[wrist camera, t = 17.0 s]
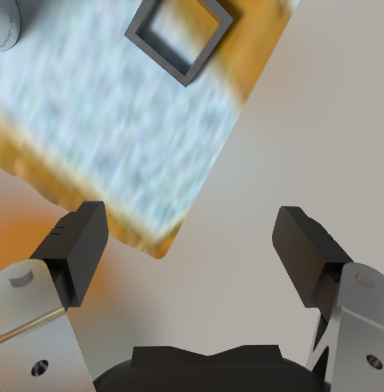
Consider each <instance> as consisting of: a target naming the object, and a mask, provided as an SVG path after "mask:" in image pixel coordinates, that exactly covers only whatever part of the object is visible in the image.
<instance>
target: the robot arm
mask: <svg viewBox="0 0 384 392" xmlns="http://www.w3.org/2000/svg"><path fill="white" fill-rule="evenodd" d="M20 25H21V21H20V15H19V10H18V7H17V5H16V2H15V0H0V52H1V51H5V50H7V49H9V48H11V47H12V46H13V45H14V44H15V43H16V41H17V39H18V37H19V33H20ZM107 240H108V225H107V218H106V211H105V205H104V202H103V201H84V202H83V203H82V204H81V206H80V207H79V208H78V210H77V211H76V212H70V213H68V214H67V215H65V216H64V217H62V218H61V219H60V220H59V221H58V223H57V224H56V225H55V226H54V228H53V229H52V230H51V231H50V233H49V235H47V236H46V238H45V239H44V240H43V242H42V243H41V244H40V245H39V246H38V248H37V249H36V250H35V252H34V253H33V254H32V255H31V257H30V258H29V259H28V260H23V261H20V262H17V263H14V264H12V265H10V266H8V267H7V268H5V269H4V270H3V271H1V272H0V392H384V275H383V274H381V273H380V272H379V271H377V270H375V269H373V268H372V267H369V266H367V265H364V264H361V263H355V262H354V261H353V260H352V259H351V258H350V257H349V256H348V255H347V253H346V252H345V251H344V250H343V249H342V248H341V247H340V246H339V244H338V243H337V242H336V241H335V240H333V238H332V237H331V235H329V234H328V232H327V231H326V230H325V229H324V228H323V227H322V225H321V224H319V223H318V222H316V221H315V220H313V219H312V218H309V217H308V216H307V215H306V214H305V213H304V211H303V210H302V209H301V208H300V207H294V206H282V207H281V208H280V209H279V212H278V216H277V219H276V223H275V226H274V230H273V235H272V241H273V246H274V248H275V250H276V252H277V254H278V255H279V257H280V259H281V261H282V263H283V265H284V267H285V269H286V271H287V273H288V275H289V277H290V279H291V281H292V282H293V284H294V286H295V288H296V290H297V292H298V294H299V296H300V298H301V300H302V302H303V304H304V306H305V308H319V310H320V314H319V316H318V319H317V323H316V327H315V331H314V336H313V340H312V344H311V349H310V353H309V357H308V361H307V363H306V366H305V367H303V366H301V365H299V364H298V363H296V362H293V361H291V360H288V359H286V358H282V355H281V352H280V349H279V346H278V345H243V346H240V347H237V348H233V349H230V350H227V351H224V352H221V353H218V354H215V355H211V356H205V355H201V354H197V353H194V352H190V351H186V350H182V349H179V348H175V347H171V346H153V347H151V346H148V347H147V346H146V347H134V348H133V354H132V359H130V360H127V361H124V362H122V363H120V364H118V365H116V366H114V367H112V368H111V369H109V370H107V371H106V372H104V373H103V374H102V375H100V376H99V377H98V378H96V379H95V380H94V381H93V382H92V379H91V377H90V374H89V372H88V369H87V366H86V364H85V361H84V359H83V356H82V353H81V351H80V348H79V346H78V343H77V341H76V338H75V335H74V333H73V330H72V328H71V325H70V323H69V320H68V317H67V314H66V311H67V309H68V307H80V306H81V303H82V301H83V299H84V296H85V294H86V292H87V289H88V287H89V284H90V282H91V279H92V277H93V275H94V272H95V270H96V268H97V265H98V263H99V261H100V258H101V256H102V253H103V251H104V249H105V246H106V243H107Z"/></svg>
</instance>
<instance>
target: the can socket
mask: <svg viewBox="0 0 384 392" xmlns="http://www.w3.org/2000/svg"><path fill="white" fill-rule="evenodd" d="M157 1H158V0H143V1H142V3H141V5H140V6H139V8H138V10H137V12H136V14H135V16H134V17H133V19H132V21H131V23H130V25H129V27H128V29H127V30H126V32H125V34H124V35H125V36H126V37H127V38H128V39H129V40H130V41H132V42H133V43H134V44H135V45H136V46H137V47H139V48H140V49H141V50H142V51H143V52H145V53H146V54H147V55H148V56H149V57H150V58H152V59H153V60H154V61H155V62H156V63H157V64H159V65H160V66H161V67H162V68H163V69H164V70H166V71H167V72H168V73H169V74H170V75H172V76H173V77H174V78H175V79H176V80H177V81H179V82H180V83H181V84H182V85H183V86H184V87H187V86H188V84H189V83H190V81H191V80H192V78H193V77H194V76H195V74H196V73H197V71H198V70H199V68H200V67H201V66H202V64H203V63H204V61H205V60H206V59H207V57H208V56H209V54H210V53H211V51H212V50H213V49H214V47H215V46H216V44H217V43H218V41H219V40H220V39H221V37H222V36H223V34H224V33H225V31H226V30H227V29H228V27H229V26H230V24H231V23H232V21H233V20H234V19H233V18H232V17H231V16H230V15H229V14H228V13H227V12H226V11H225V10H224V8H223V7H222V6H221V5H220V4H219V3H218V2H217V1H216V0H197V1H198V2H199V3H200V4H201V5H202V6H203V7H204V8H205V9H206V10H207V11H208V13H209V14H210V15H211V16H212V17H213V18H214V19H215V20H216V21H217V22H218V23H219V24H220V25H219V26H218V28H217V29H216V31H215V32H214V34H213V35H212V36H211V38H210V39H209V41H208V42H207V44H206V45H205V47H204V48H203V50H202V51H201V53H200V54H199V55H198V57H197V58H196V60H195V61H194V63H193V64H192V66H191V67H190V69H189V70H188V72H187V73H186V74H185V76H184V75H183V74H181V73H180V72H179V71H178V70H177V69H176V68H175V67H173V66H172V65H171V64H170V63H169V62H168V61H166V60H165V59H164V58H163V57H162V56H161V55H160V54H158V53H157V52H156V51H155V50H154V49H153V48H152V47H150V46H149V45H148V44H147V43H146V42H145V41H143V40H142V39H141V38H140V37H139V36H138V35H139V33H140V31H141V30H142V28H143V26H144V24H145V22H146V21H147V19H148V17H149V15H150V14H151V12H152V10H153V8H154V7H155V5H156V3H157Z"/></svg>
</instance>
